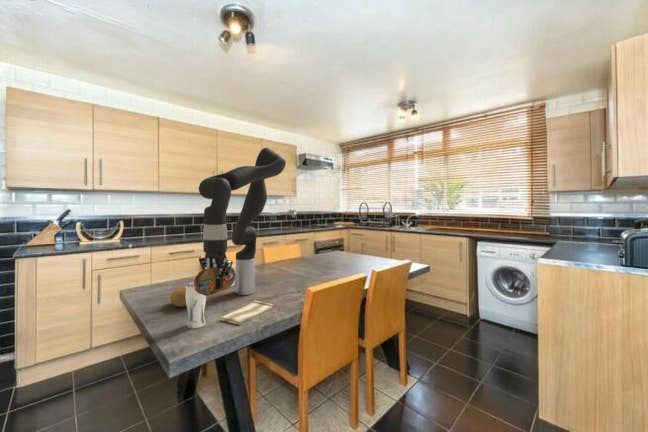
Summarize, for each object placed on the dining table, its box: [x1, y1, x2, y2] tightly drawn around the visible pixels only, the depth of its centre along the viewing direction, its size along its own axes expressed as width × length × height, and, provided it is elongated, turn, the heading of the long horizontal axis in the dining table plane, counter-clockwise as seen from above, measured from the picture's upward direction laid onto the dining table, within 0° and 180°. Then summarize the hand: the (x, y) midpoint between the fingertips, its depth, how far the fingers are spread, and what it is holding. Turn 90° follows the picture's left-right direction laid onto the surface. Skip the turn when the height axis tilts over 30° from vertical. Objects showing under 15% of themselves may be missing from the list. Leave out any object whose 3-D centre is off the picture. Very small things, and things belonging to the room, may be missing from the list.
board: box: [219, 299, 273, 326], centre depth 112 cm, size 10×20×1 cm, turn 154°
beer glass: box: [185, 282, 207, 329], centre depth 100 cm, size 7×7×15 cm
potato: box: [169, 285, 187, 308], centre depth 120 cm, size 10×14×8 cm
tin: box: [193, 267, 236, 297], centre depth 93 cm, size 15×3×8 cm, turn 152°
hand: (215, 288), depth 93 cm, fingers closed on tin, 2 cm apart
